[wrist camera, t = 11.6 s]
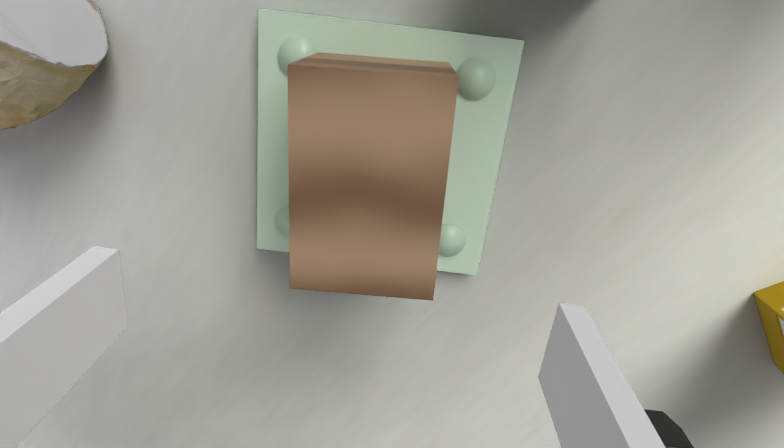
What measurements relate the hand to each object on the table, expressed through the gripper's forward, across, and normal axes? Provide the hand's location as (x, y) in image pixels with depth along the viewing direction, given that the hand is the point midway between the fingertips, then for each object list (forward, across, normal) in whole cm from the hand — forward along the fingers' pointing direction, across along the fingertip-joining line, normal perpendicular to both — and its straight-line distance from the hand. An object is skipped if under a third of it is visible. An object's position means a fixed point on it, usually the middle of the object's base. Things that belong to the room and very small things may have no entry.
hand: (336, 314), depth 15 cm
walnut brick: (+19, 0, 0) cm, 19 cm away
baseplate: (+21, 0, 0) cm, 21 cm away
